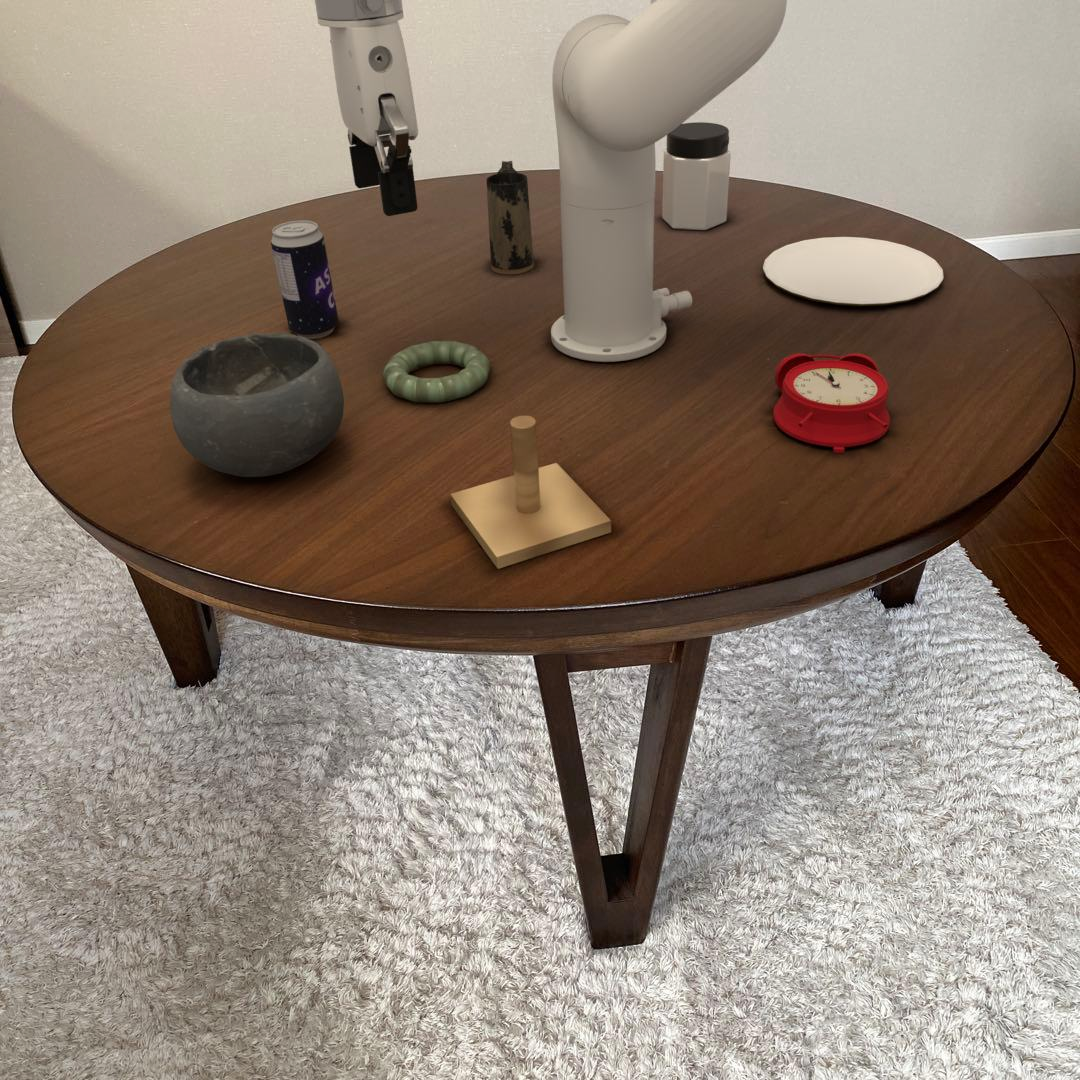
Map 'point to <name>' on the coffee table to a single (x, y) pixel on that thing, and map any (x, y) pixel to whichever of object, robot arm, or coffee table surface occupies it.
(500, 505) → the stand
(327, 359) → the bowl
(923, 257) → the plate
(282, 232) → the beverage can
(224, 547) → the coffee table surface
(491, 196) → the rusty spray can
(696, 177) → the jar
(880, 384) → the alarm clock
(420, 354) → the ring
